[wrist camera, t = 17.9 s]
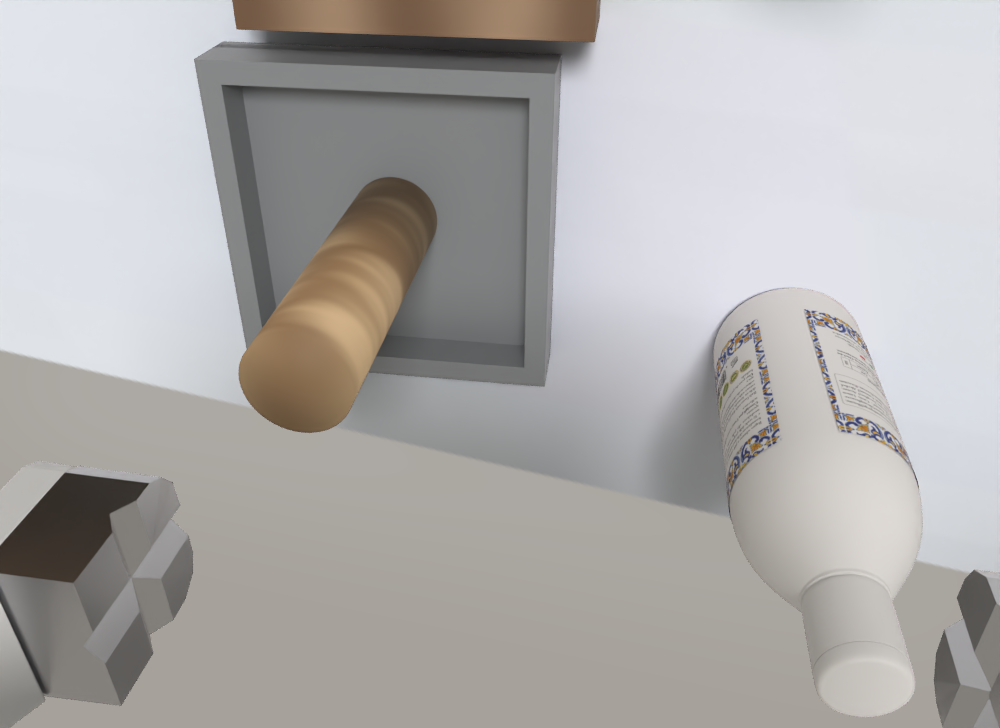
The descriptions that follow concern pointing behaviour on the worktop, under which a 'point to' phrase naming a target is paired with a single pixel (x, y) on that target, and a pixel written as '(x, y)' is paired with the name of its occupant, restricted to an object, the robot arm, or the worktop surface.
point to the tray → (407, 155)
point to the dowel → (339, 310)
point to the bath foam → (821, 488)
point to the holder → (427, 18)
